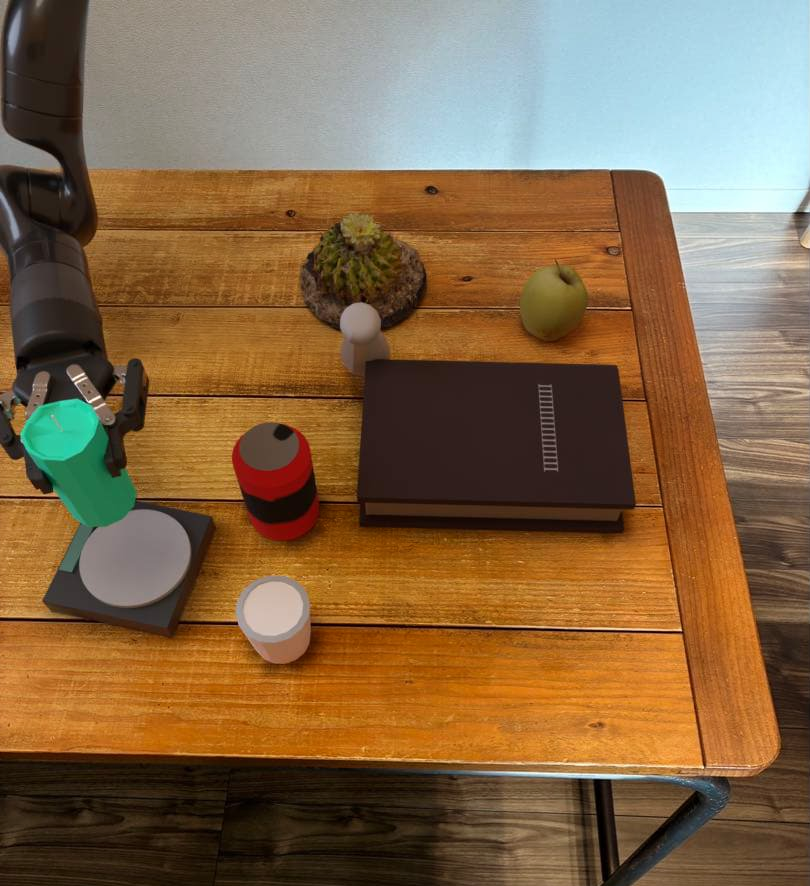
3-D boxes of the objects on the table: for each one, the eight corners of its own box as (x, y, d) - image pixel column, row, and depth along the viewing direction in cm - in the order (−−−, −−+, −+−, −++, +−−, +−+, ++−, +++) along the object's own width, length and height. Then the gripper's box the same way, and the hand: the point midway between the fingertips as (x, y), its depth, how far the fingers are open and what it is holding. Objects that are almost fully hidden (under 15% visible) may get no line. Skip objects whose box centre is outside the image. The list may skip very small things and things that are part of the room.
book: (605, 390, 97) (616, 356, 91) (622, 533, 87) (636, 504, 82) (368, 384, 97) (366, 350, 92) (359, 526, 87) (356, 497, 82)
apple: (506, 343, 99) (524, 264, 92) (520, 313, 104) (537, 238, 97) (570, 360, 97) (593, 282, 91) (581, 329, 103) (603, 253, 96)
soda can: (333, 504, 89) (325, 437, 78) (290, 554, 86) (275, 492, 75) (279, 471, 91) (263, 402, 80) (234, 519, 88) (212, 454, 77)
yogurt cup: (237, 661, 80) (224, 633, 74) (260, 599, 83) (249, 567, 77) (305, 677, 79) (297, 650, 73) (325, 614, 82) (319, 583, 76)
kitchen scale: (50, 611, 82) (39, 598, 80) (102, 504, 88) (93, 489, 86) (172, 638, 81) (165, 626, 78) (216, 527, 87) (210, 512, 84)
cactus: (415, 341, 100) (416, 280, 92) (288, 326, 101) (277, 264, 93) (435, 245, 108) (438, 180, 100) (317, 231, 110) (310, 167, 101)
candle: (147, 478, 74) (105, 394, 63) (119, 534, 71) (70, 456, 61) (87, 463, 75) (35, 377, 64) (56, 518, 72) (-3, 438, 61)
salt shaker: (335, 345, 97) (323, 303, 84) (379, 327, 98) (374, 283, 85) (353, 390, 97) (344, 355, 84) (398, 372, 97) (395, 334, 84)
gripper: (-46, 314, 69) (-35, 476, 61) (125, 278, 71) (156, 430, 63) (-7, 373, 76) (7, 526, 68) (149, 338, 78) (179, 483, 70)
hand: (79, 479), depth 66 cm, fingers closed on candle, 5 cm apart
